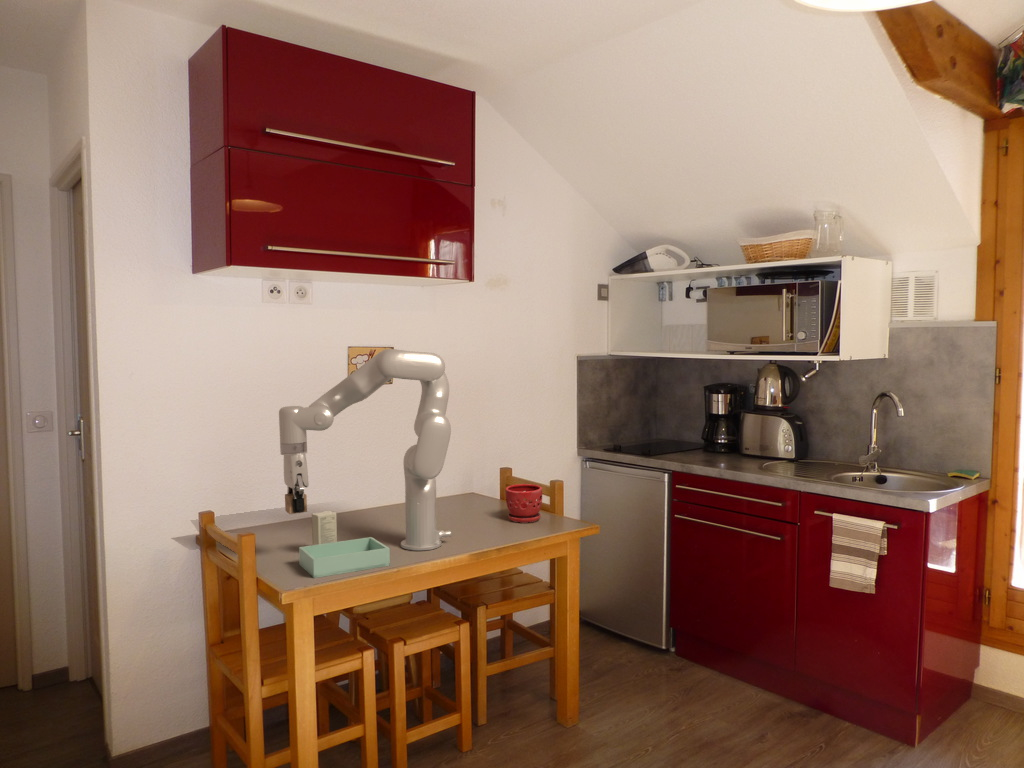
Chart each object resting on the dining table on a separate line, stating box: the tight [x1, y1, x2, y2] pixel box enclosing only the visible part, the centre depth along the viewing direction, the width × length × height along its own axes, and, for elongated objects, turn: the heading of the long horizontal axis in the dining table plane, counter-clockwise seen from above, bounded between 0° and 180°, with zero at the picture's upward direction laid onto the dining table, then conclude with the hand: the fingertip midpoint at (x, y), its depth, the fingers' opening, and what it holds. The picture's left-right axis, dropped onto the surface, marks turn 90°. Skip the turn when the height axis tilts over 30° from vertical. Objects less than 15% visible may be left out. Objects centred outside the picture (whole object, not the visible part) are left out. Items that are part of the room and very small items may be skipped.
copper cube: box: [284, 493, 308, 515], centre depth 218 cm, size 5×5×5 cm
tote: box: [298, 536, 391, 579], centre depth 211 cm, size 22×15×5 cm
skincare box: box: [311, 510, 338, 545], centre depth 224 cm, size 6×4×12 cm
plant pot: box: [505, 483, 543, 524], centre depth 264 cm, size 13×13×12 cm
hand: (296, 509), depth 218 cm, fingers closed on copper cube, 5 cm apart
